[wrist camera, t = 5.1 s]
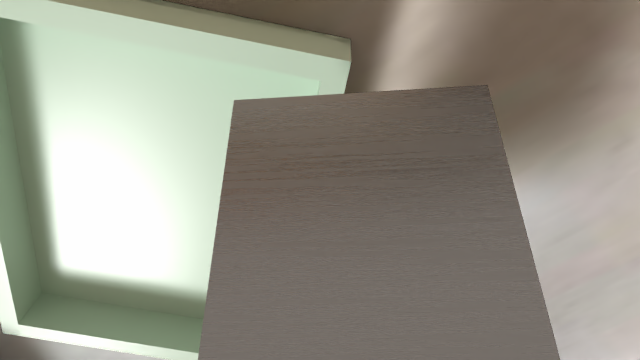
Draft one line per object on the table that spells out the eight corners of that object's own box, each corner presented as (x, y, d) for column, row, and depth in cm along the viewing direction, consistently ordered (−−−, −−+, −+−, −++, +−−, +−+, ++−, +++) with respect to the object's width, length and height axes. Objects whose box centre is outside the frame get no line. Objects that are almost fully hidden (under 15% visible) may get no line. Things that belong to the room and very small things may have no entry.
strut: (426, 319, 17) (444, 463, 15) (304, 322, 18) (300, 463, 15) (503, 84, 7) (596, 401, 5) (218, 100, 8) (169, 405, 5)
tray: (284, 333, 25) (278, 376, 23) (34, 292, 24) (2, 333, 22) (350, 39, 17) (351, 61, 15) (-26, -39, 16) (-86, -27, 14)
